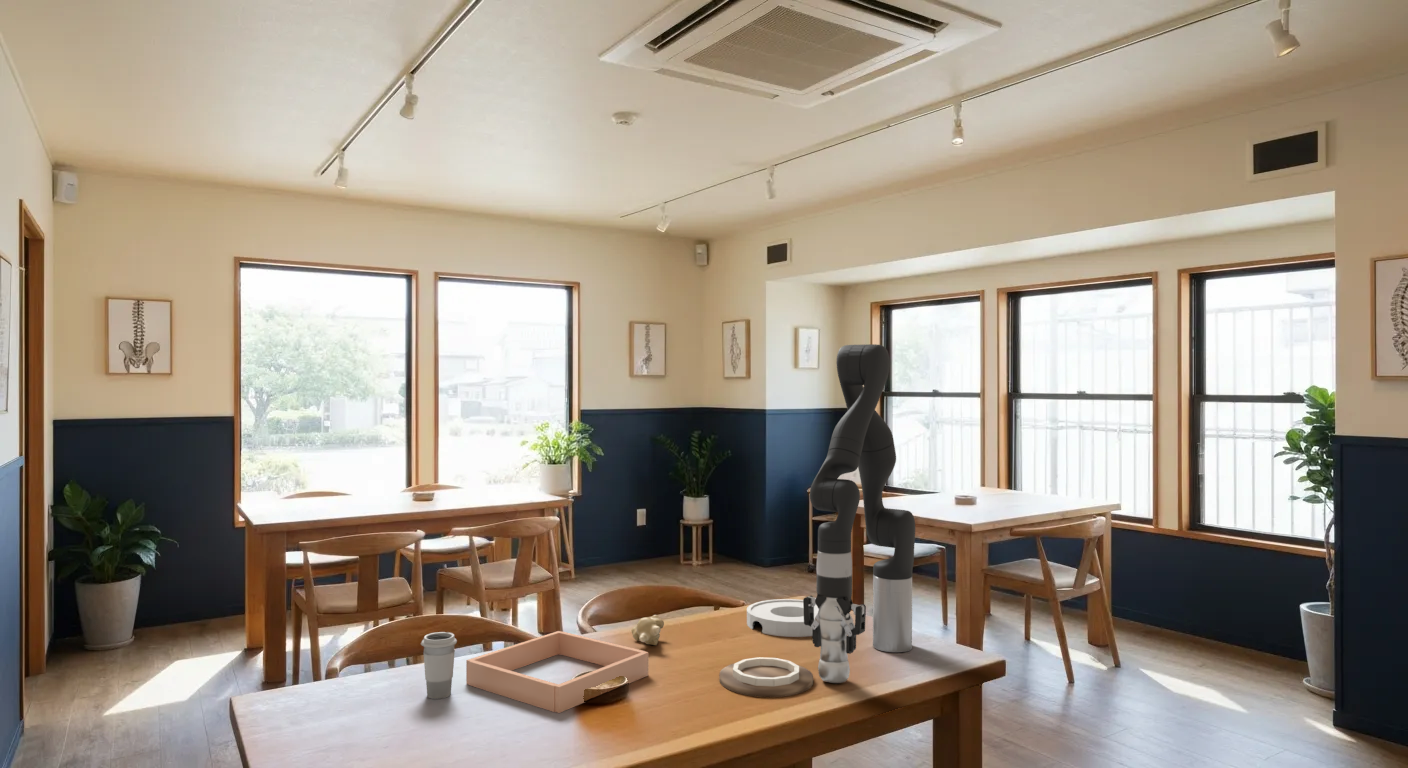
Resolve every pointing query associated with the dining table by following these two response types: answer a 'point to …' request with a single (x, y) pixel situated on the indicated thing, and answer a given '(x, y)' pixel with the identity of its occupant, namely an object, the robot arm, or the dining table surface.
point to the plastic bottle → (832, 643)
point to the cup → (439, 663)
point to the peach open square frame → (500, 679)
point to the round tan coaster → (766, 691)
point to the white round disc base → (780, 617)
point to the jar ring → (766, 680)
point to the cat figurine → (648, 630)
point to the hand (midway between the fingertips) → (833, 649)
